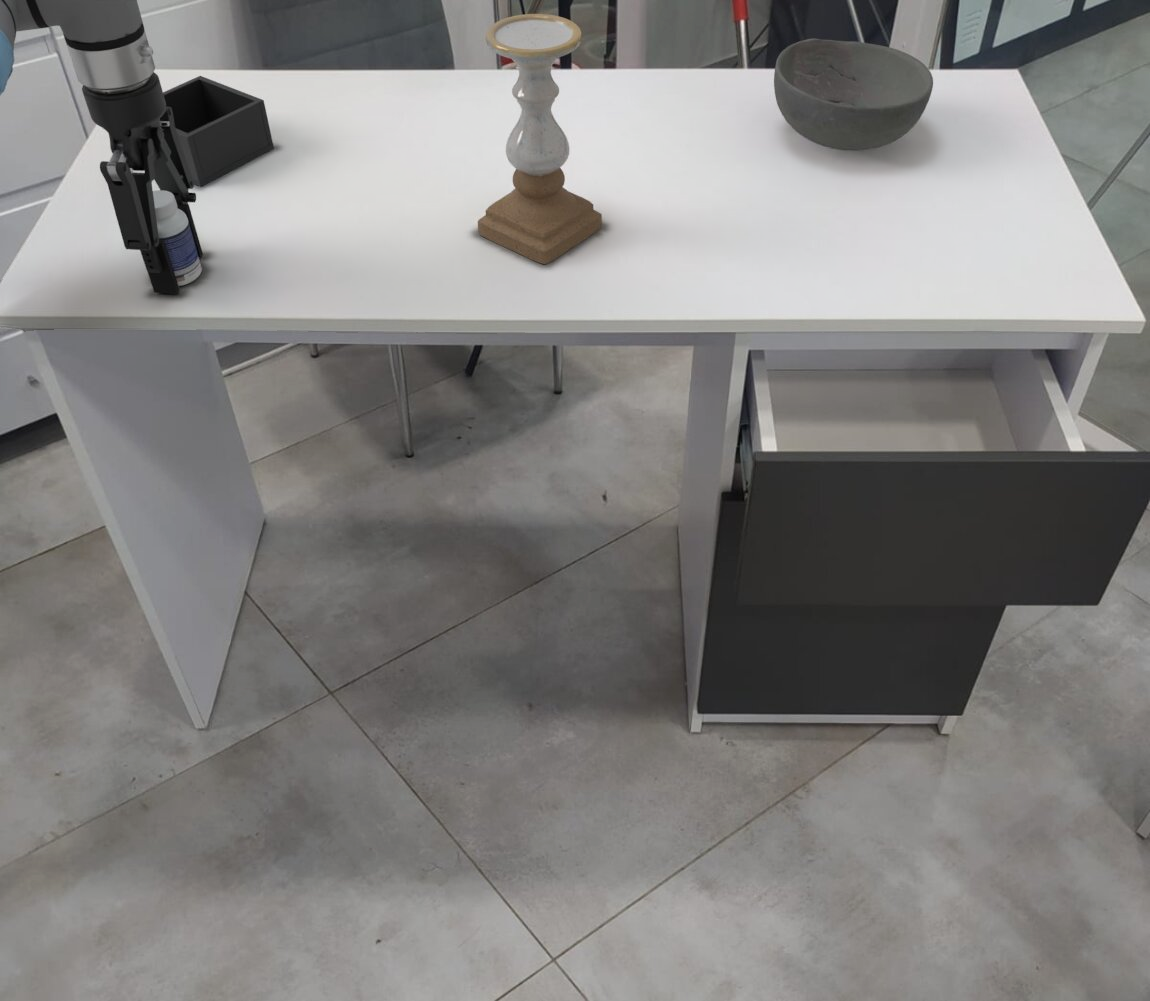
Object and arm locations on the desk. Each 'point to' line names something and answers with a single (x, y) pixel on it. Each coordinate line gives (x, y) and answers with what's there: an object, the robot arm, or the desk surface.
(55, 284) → the desk surface
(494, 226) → the candle holder
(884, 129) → the bowl
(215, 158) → the basket
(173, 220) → the pill bottle
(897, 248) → the desk surface
